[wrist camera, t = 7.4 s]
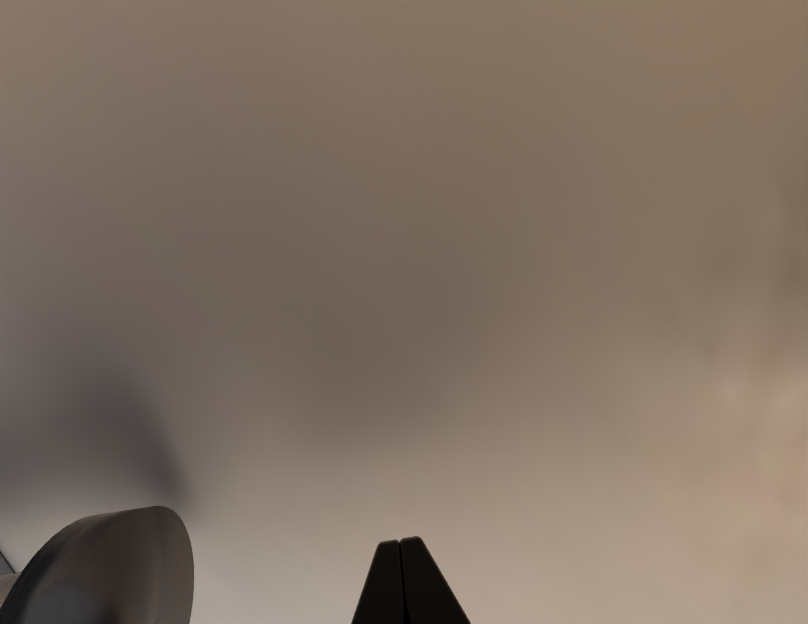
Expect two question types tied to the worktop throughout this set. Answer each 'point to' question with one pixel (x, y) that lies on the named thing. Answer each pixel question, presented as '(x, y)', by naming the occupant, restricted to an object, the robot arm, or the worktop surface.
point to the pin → (106, 573)
